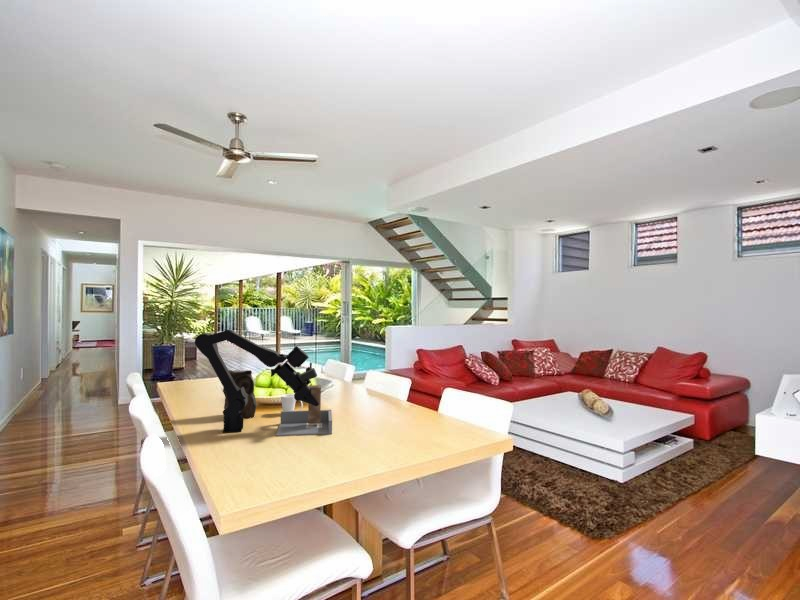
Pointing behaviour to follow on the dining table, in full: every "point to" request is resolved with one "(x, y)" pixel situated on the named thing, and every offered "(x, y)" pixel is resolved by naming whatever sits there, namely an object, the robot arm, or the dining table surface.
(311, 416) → the walnut column
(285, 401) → the cup
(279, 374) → the robot arm
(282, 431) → the tray
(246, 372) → the owl
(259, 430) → the dining table surface
